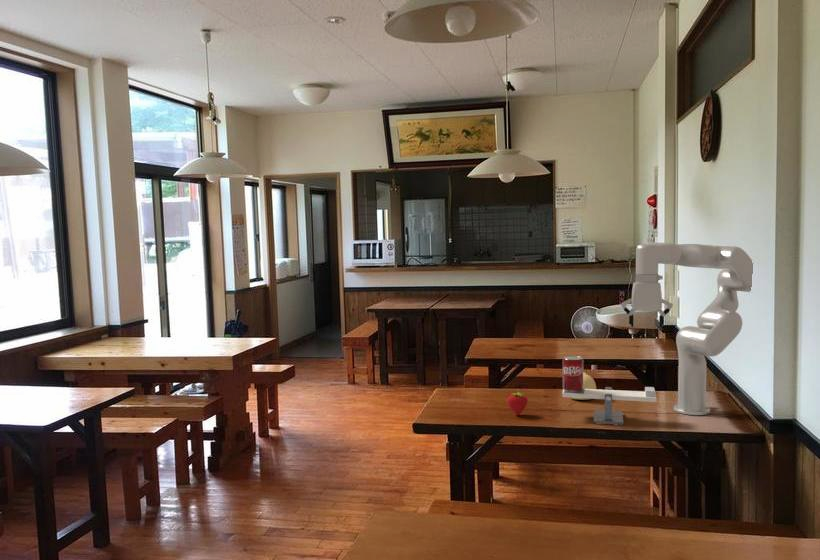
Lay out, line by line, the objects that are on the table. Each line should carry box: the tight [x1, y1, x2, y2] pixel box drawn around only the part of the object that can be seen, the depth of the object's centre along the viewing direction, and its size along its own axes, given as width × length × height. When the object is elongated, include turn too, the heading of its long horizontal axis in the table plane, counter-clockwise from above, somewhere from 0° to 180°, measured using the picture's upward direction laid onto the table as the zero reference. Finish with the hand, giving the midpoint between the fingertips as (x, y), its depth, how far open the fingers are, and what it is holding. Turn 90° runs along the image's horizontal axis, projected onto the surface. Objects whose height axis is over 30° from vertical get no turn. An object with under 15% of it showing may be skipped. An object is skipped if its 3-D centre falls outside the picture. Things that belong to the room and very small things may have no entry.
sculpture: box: [569, 371, 597, 401], centre depth 271 cm, size 11×12×11 cm
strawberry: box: [506, 388, 528, 416], centre depth 250 cm, size 6×8×10 cm
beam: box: [561, 386, 658, 403], centre depth 242 cm, size 32×8×4 cm, turn 73°
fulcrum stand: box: [593, 386, 624, 426], centre depth 242 cm, size 10×14×10 cm
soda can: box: [562, 355, 584, 392], centre depth 245 cm, size 7×7×12 cm
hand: (646, 326), depth 240 cm, fingers open, 9 cm apart
